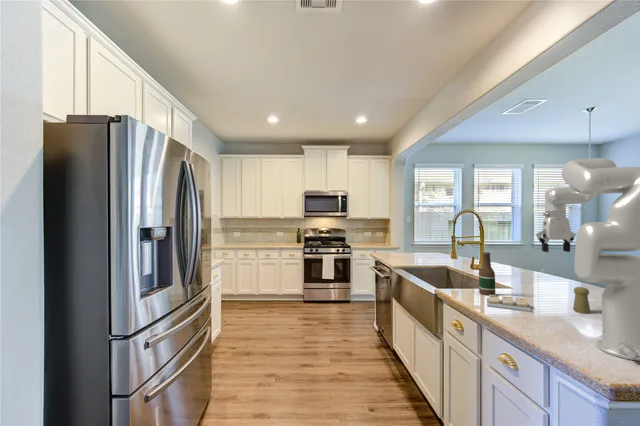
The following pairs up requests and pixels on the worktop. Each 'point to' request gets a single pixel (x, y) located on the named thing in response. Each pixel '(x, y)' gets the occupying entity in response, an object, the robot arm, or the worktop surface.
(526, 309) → the board
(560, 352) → the worktop surface
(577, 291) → the cork
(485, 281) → the beer bottle
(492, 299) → the key
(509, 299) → the key
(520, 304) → the key
